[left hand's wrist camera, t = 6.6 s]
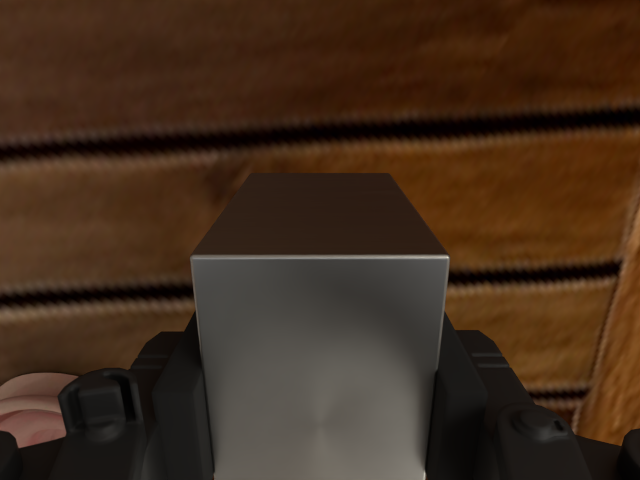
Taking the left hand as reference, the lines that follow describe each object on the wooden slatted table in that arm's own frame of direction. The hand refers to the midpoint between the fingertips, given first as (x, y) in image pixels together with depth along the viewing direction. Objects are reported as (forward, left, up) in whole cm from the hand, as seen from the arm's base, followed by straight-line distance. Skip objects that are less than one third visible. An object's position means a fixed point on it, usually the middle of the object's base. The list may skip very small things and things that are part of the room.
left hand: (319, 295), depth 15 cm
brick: (0, 0, -2) cm, 2 cm away
